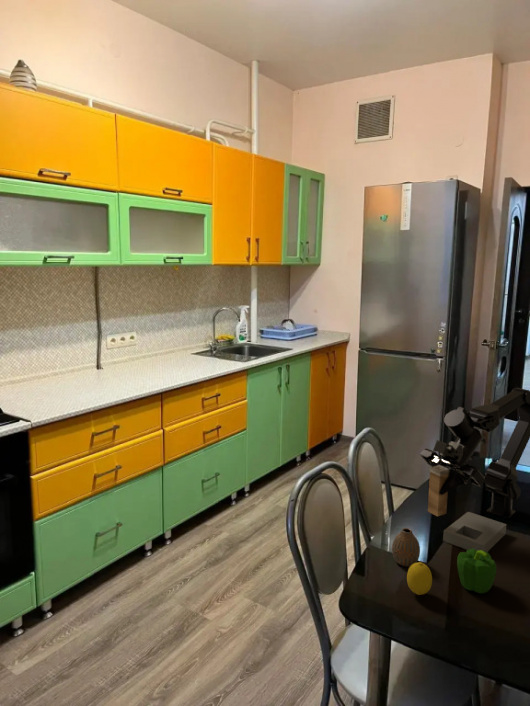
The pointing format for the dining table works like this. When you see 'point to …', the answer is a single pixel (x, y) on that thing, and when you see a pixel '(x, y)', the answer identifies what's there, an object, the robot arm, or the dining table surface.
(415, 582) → the lemon
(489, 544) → the block with square hole
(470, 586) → the bell pepper
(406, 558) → the vase
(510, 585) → the dining table surface
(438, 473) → the wooden square peg
